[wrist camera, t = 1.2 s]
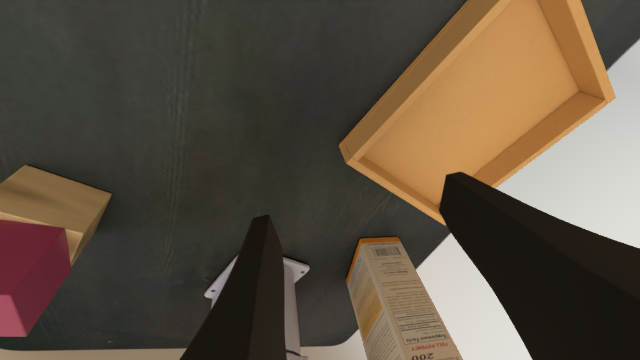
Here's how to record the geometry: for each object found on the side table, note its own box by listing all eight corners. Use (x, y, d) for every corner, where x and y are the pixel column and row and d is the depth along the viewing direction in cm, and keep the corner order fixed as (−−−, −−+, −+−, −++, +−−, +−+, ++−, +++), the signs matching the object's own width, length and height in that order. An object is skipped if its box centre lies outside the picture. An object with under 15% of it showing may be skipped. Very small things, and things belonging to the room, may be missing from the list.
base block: (94, 232, 21) (65, 275, 18) (13, 211, 19) (-36, 256, 16) (112, 193, 19) (83, 234, 16) (25, 164, 17) (-29, 205, 14)
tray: (431, 207, 27) (445, 225, 25) (337, 145, 20) (346, 163, 18) (582, 86, 21) (616, 97, 19) (517, -57, 14) (559, -63, 12)
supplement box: (379, 277, 33) (430, 407, 23) (344, 280, 32) (380, 417, 22) (400, 234, 29) (475, 375, 18) (359, 236, 28) (414, 386, 17)
